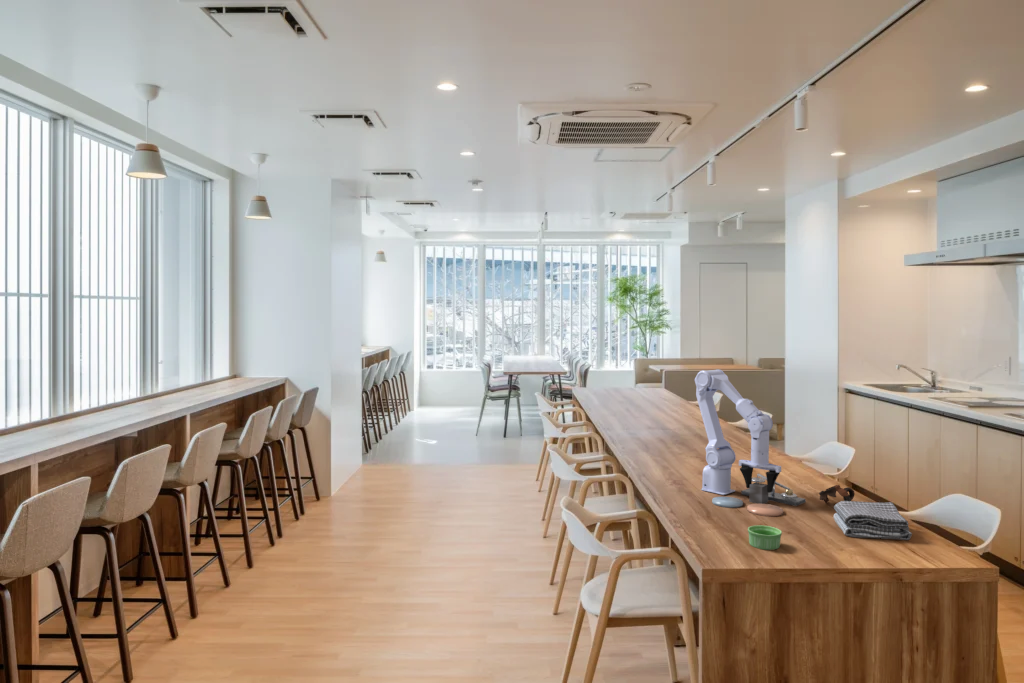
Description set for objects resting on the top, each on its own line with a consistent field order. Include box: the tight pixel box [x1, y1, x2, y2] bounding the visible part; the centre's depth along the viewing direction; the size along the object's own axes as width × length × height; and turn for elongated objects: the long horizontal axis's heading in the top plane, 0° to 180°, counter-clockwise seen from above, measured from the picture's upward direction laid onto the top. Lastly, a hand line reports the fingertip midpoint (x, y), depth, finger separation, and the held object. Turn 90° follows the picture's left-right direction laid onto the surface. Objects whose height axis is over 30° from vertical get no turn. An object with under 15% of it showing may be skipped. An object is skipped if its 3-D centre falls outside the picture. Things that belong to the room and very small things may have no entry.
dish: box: [746, 503, 784, 517], centre depth 228 cm, size 11×11×1 cm
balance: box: [740, 472, 807, 507], centre depth 244 cm, size 20×7×8 cm, turn 43°
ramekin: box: [747, 524, 783, 551], centre depth 195 cm, size 9×9×4 cm
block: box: [748, 482, 769, 504], centre depth 239 cm, size 4×4×6 cm
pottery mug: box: [818, 484, 855, 504], centre depth 235 cm, size 12×10×8 cm
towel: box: [833, 500, 913, 541], centre depth 208 cm, size 15×18×8 cm
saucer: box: [711, 496, 744, 509], centre depth 237 cm, size 10×10×1 cm
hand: (759, 489), depth 239 cm, fingers open, 7 cm apart
